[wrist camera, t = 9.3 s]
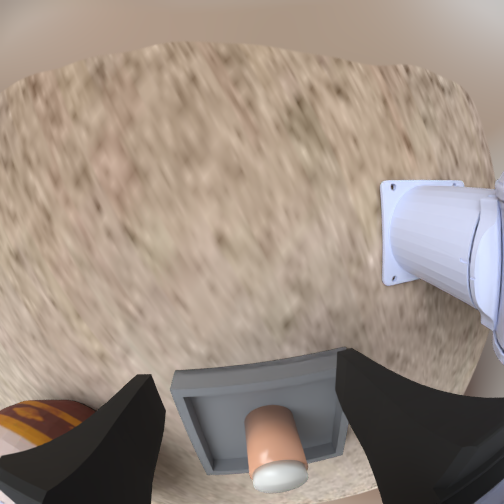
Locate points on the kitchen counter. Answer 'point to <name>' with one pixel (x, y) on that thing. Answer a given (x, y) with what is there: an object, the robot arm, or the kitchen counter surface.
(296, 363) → the tray
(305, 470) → the shaker
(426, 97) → the kitchen counter surface
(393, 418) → the robot arm
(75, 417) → the jug
